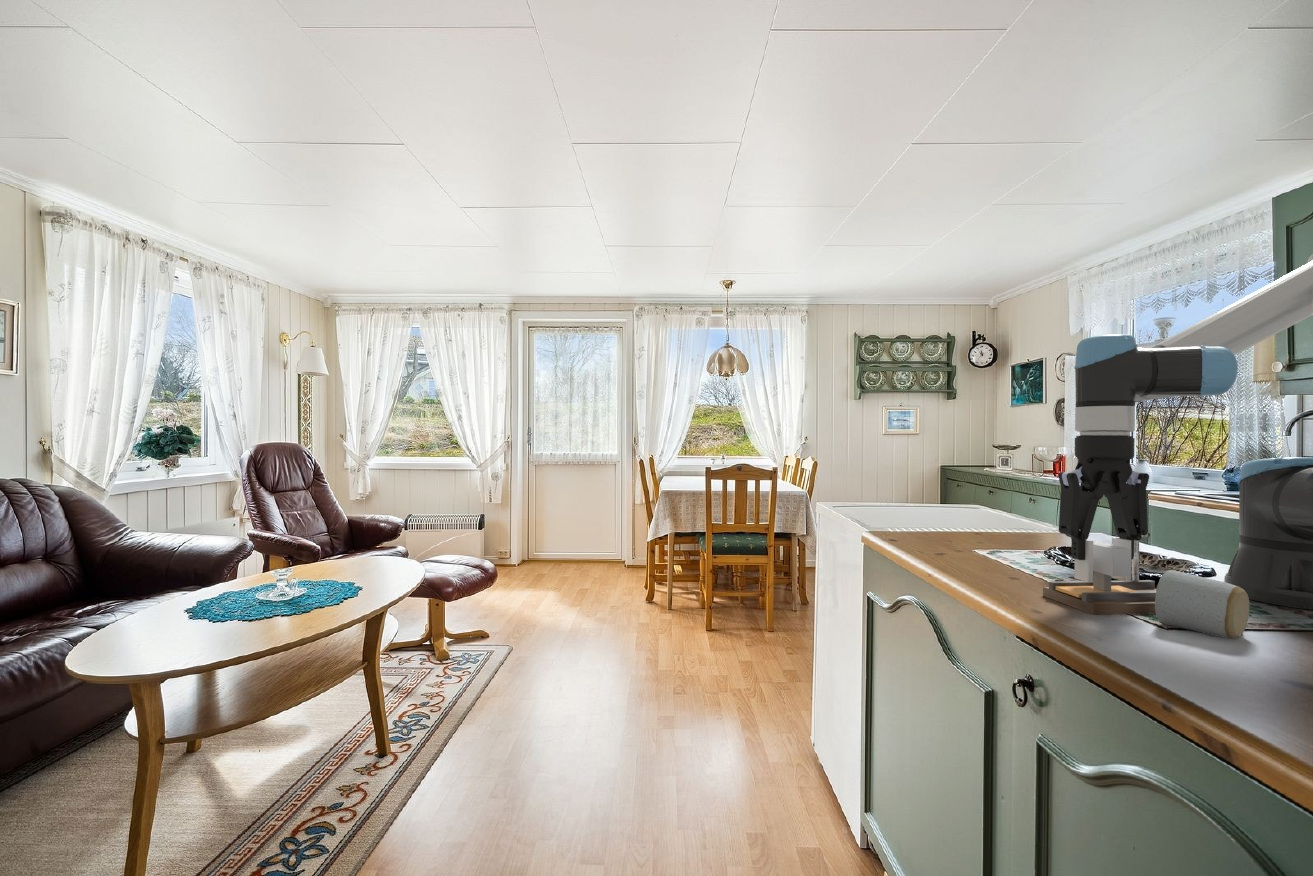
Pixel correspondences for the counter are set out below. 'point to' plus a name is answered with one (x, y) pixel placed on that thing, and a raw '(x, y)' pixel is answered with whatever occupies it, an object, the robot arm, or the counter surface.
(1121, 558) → the white block on base
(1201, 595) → the ceramic mug
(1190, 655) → the counter surface
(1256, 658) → the counter surface
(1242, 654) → the counter surface
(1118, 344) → the robot arm
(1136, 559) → the keeper hook
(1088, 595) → the brown piece
